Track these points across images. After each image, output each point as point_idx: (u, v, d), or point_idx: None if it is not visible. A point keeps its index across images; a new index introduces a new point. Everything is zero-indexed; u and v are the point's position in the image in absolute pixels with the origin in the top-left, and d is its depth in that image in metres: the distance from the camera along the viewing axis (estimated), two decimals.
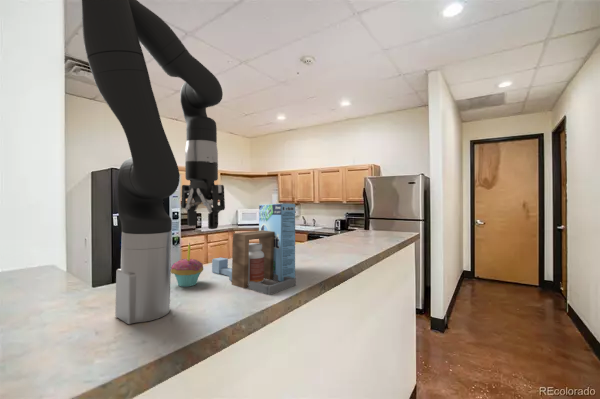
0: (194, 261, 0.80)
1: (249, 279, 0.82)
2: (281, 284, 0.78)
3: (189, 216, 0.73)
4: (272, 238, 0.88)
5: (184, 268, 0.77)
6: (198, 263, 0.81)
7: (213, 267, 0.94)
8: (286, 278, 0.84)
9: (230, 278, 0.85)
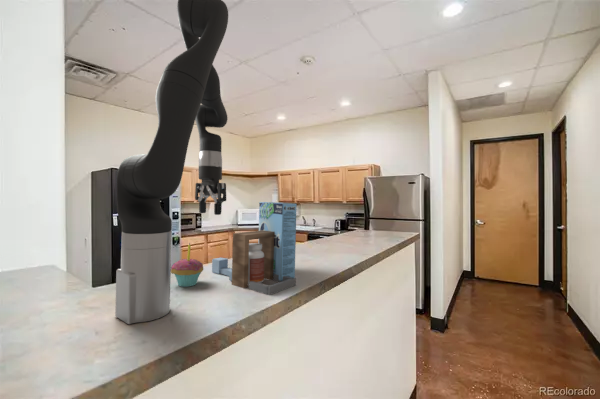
0: (194, 261, 0.80)
1: (249, 279, 0.82)
2: (281, 284, 0.78)
3: (200, 206, 0.99)
4: (272, 238, 0.88)
5: (184, 268, 0.77)
6: (198, 263, 0.81)
7: (213, 267, 0.94)
8: (286, 278, 0.84)
9: (230, 278, 0.85)
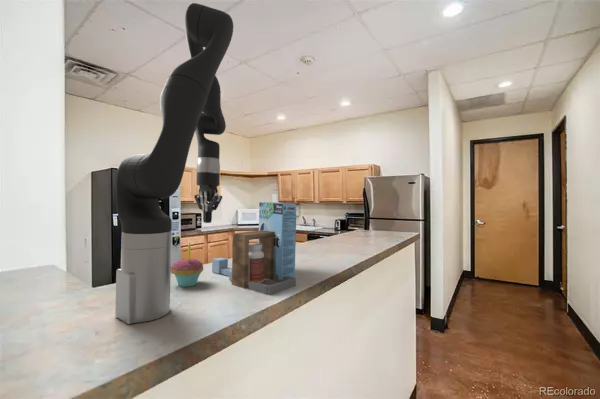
0: (194, 261, 0.80)
1: (249, 279, 0.82)
2: (281, 284, 0.78)
3: (205, 215, 0.98)
4: (272, 238, 0.88)
5: (184, 268, 0.77)
6: (198, 263, 0.81)
7: (213, 267, 0.94)
8: (286, 278, 0.84)
9: (230, 278, 0.85)
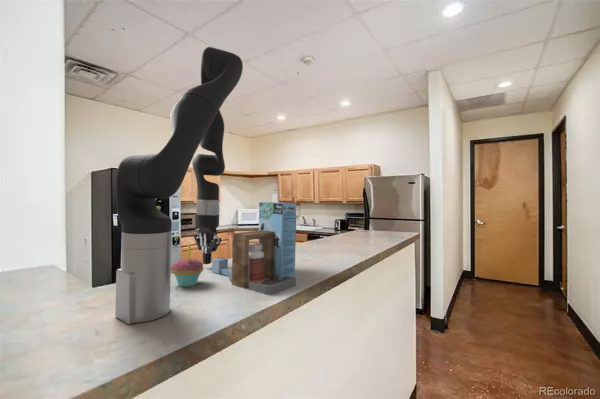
0: (194, 261, 0.80)
1: (249, 279, 0.82)
2: (281, 284, 0.78)
3: (204, 256, 0.98)
4: (272, 238, 0.88)
5: (184, 268, 0.77)
6: (198, 263, 0.81)
7: (213, 267, 0.94)
8: (286, 278, 0.84)
9: (230, 278, 0.85)
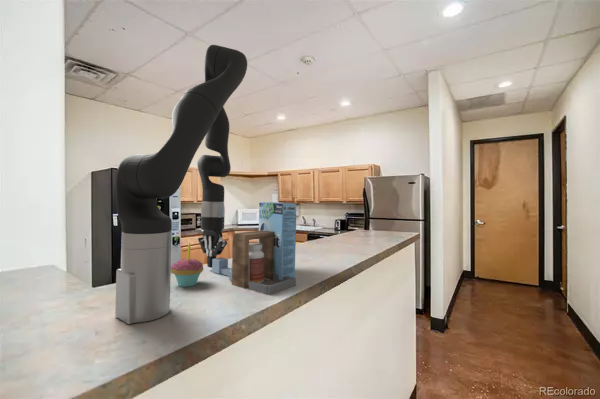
0: (194, 261, 0.80)
1: (249, 279, 0.82)
2: (281, 284, 0.78)
3: (209, 260, 0.96)
4: (272, 238, 0.88)
5: (184, 268, 0.77)
6: (198, 263, 0.81)
7: (213, 267, 0.94)
8: (286, 278, 0.84)
9: (230, 278, 0.85)
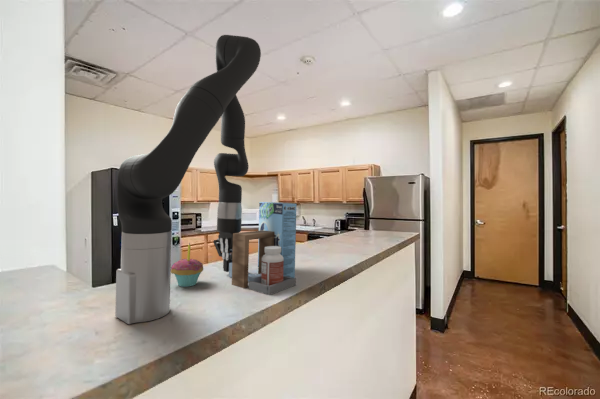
0: (194, 261, 0.80)
1: (268, 284, 0.78)
2: (281, 284, 0.78)
3: (225, 263, 0.91)
4: (272, 238, 0.88)
5: (184, 268, 0.77)
6: (198, 263, 0.81)
7: (230, 271, 0.89)
8: (286, 278, 0.84)
9: None
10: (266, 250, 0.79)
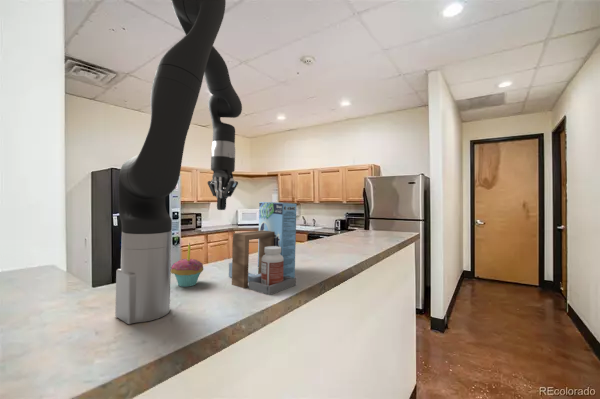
0: (194, 261, 0.80)
1: (268, 284, 0.78)
2: (281, 284, 0.78)
3: (219, 202, 0.93)
4: (272, 238, 0.88)
5: (184, 268, 0.77)
6: (198, 263, 0.81)
7: (230, 271, 0.89)
8: (286, 278, 0.84)
9: None
10: (266, 250, 0.79)
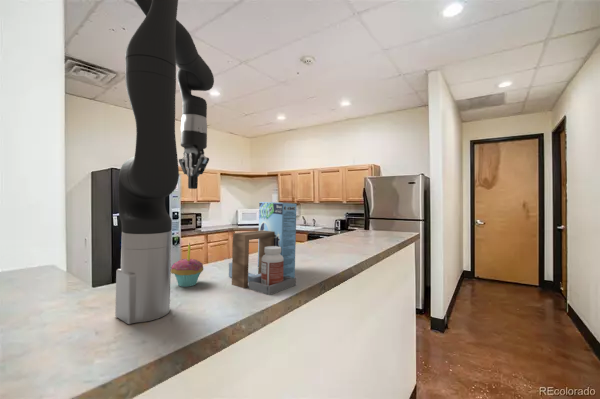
0: (194, 261, 0.80)
1: (268, 284, 0.78)
2: (281, 284, 0.78)
3: (190, 180, 0.88)
4: (272, 238, 0.88)
5: (184, 268, 0.77)
6: (198, 263, 0.81)
7: (230, 271, 0.89)
8: (286, 278, 0.84)
9: None
10: (266, 250, 0.79)
